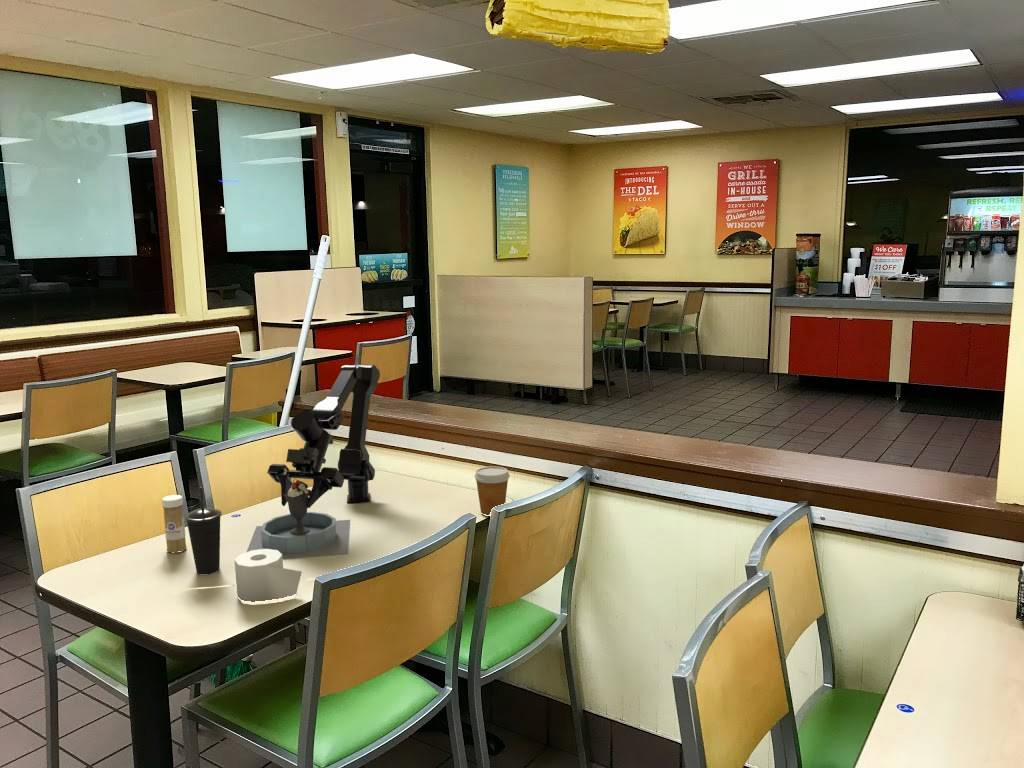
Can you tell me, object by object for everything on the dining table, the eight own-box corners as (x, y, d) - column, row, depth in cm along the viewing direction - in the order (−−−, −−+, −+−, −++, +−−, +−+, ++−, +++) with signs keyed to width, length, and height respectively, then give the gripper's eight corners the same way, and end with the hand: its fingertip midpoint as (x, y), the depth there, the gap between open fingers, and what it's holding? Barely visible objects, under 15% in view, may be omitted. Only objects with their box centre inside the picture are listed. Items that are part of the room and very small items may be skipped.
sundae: (292, 538, 194) (288, 479, 191) (282, 530, 199) (277, 473, 196) (317, 532, 197) (314, 474, 195) (307, 524, 203) (303, 468, 200)
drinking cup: (217, 562, 186) (210, 479, 182) (232, 571, 181) (225, 486, 177) (184, 572, 181) (176, 487, 177) (198, 581, 175) (191, 494, 172)
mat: (256, 527, 208) (256, 526, 208) (350, 521, 212) (350, 519, 212) (242, 564, 185) (242, 562, 185) (348, 555, 189) (347, 554, 189)
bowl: (267, 529, 205) (266, 514, 205) (337, 524, 208) (336, 510, 208) (258, 555, 188) (257, 539, 188) (334, 550, 191) (333, 534, 191)
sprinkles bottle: (165, 555, 191) (160, 501, 188) (167, 548, 195) (162, 495, 193) (186, 552, 192) (181, 499, 190) (188, 545, 196) (183, 493, 194)
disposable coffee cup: (517, 512, 217) (516, 470, 215) (492, 522, 210) (492, 478, 208) (492, 505, 223) (491, 463, 221) (467, 514, 216) (466, 471, 214)
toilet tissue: (303, 599, 166) (301, 560, 165) (236, 608, 163) (233, 568, 161) (302, 582, 175) (300, 544, 173) (238, 589, 171) (235, 552, 170)
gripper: (268, 432, 200) (246, 488, 191) (336, 436, 195) (316, 494, 187) (287, 454, 209) (267, 508, 200) (352, 458, 204) (334, 514, 196)
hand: (295, 506), depth 196 cm, fingers closed on sundae, 6 cm apart
